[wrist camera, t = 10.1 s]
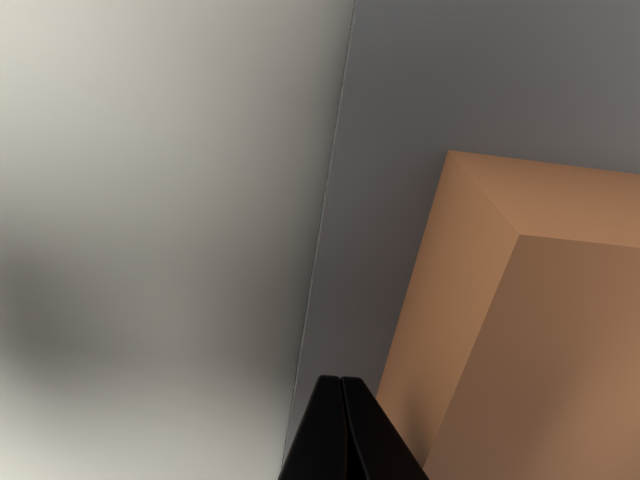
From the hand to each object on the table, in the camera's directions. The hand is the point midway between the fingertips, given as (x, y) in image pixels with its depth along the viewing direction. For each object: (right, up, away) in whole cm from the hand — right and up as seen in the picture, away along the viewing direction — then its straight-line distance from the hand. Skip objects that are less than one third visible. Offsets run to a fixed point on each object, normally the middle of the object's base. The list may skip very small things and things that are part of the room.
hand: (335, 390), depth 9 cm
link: (+4, -3, +3) cm, 6 cm away
